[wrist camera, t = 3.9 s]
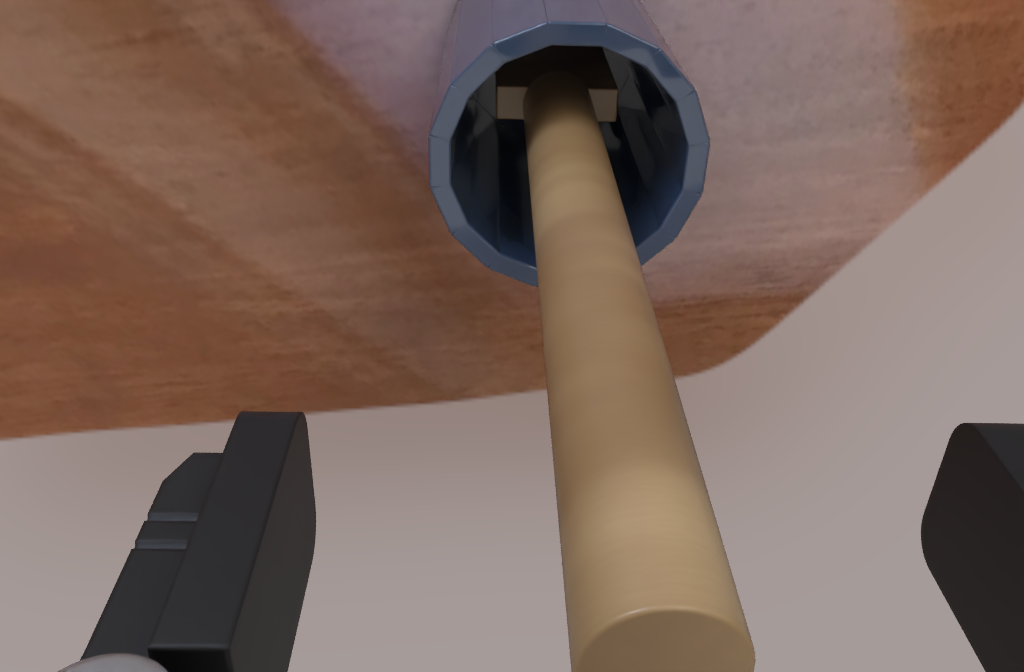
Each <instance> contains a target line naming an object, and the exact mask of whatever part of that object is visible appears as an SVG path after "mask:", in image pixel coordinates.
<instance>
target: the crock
mask: <svg viewBox="0 0 1024 672" xmlns="http://www.w3.org/2000/svg"><path fill="white" fill-rule="evenodd" d="M551 45H552V46H588V47H602V48H603V51H604V53H605V56H606V59H607V61H608V64H609V66H610V69H611V71H612V74H613V77H614V79H615V82H616V84H617V87H618V90H619V94H618V105H617V116H616V121H615V122H598V123H599V126H600V129H601V133H602V136H603V139H604V143H605V146H606V150H607V153H608V156H609V160H610V163H611V167H612V170H613V173H614V177H615V180H616V183H617V187H618V190H619V194H620V197H621V200H622V204H623V207H624V210H625V214H626V217H627V221H628V224H629V227H630V231H631V234H632V238H633V241H634V244H635V248H636V251H637V254H638V258H639V261H640V265H641V266H642V265H644V264H645V263H646V262H647V261H649V260H650V259H651V258H652V257H654V256H655V255H656V254H657V253H659V252H660V251H661V250H663V249H664V248H665V247H666V246H668V245H669V244H670V243H671V242H673V241H674V239H675V238H676V237H677V236H678V234H679V233H680V231H681V229H682V228H683V226H684V224H685V223H686V221H687V219H688V218H689V216H690V214H691V213H692V211H693V209H694V207H695V206H696V204H697V202H698V201H699V199H700V197H701V195H702V194H701V193H703V189H704V182H705V175H706V168H707V162H708V155H709V148H710V138H709V134H708V131H707V127H706V123H705V120H704V116H703V113H702V109H701V105H700V102H699V98H698V95H697V92H696V90H695V88H694V86H693V85H692V83H691V81H690V80H689V78H688V77H687V75H686V74H685V72H684V70H683V69H682V67H681V66H680V64H679V62H678V61H677V59H676V58H675V56H674V54H673V53H672V51H671V50H670V48H669V46H668V45H667V43H666V42H665V40H664V38H663V37H662V35H661V34H660V32H659V30H658V29H657V27H656V26H655V24H654V23H653V21H652V19H651V18H650V16H649V15H648V13H647V11H646V10H645V8H644V7H643V5H642V3H641V2H640V0H459V1H458V3H457V5H456V7H455V10H454V13H453V16H452V19H451V22H450V25H449V27H448V30H447V35H446V41H445V46H444V52H443V58H442V63H441V69H440V75H439V80H438V86H437V92H436V97H435V103H434V109H433V114H432V120H431V126H430V132H429V185H430V190H431V192H432V194H433V197H434V199H435V201H436V203H437V205H438V208H439V210H440V212H441V214H442V216H443V219H444V221H445V223H446V225H447V227H448V230H449V232H450V233H452V236H453V237H454V238H455V239H456V240H458V241H459V242H460V243H461V244H462V245H463V246H464V247H465V248H466V249H467V250H468V251H469V252H471V253H472V254H473V255H474V256H475V257H476V258H477V259H478V260H479V261H480V262H481V263H482V264H483V265H485V266H486V267H487V268H489V269H490V270H493V271H495V272H498V273H501V274H503V275H506V276H508V277H511V278H513V279H516V280H518V281H521V282H524V283H526V284H529V285H531V286H536V287H538V277H537V266H536V254H535V242H534V231H533V219H532V208H531V196H530V184H529V173H528V161H527V150H526V138H525V127H524V120H513V119H496V79H495V72H496V71H498V70H499V69H500V68H501V67H502V66H503V65H504V64H505V63H507V62H510V61H512V60H515V59H518V58H520V57H523V56H525V55H528V54H531V53H533V52H536V51H538V50H541V49H544V48H546V47H549V46H551Z"/></svg>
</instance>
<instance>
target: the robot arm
mask: <svg viewBox="0 0 1024 672" xmlns="http://www.w3.org/2000/svg"><path fill="white" fill-rule="evenodd" d="M315 535H316V510H315V498H314V489H313V479H312V468H311V459H310V449H309V439H308V429H307V422H306V418H305V415H304V413H303V412H255V411H242V412H240V413H239V415H238V416H237V418H236V421H235V423H234V426H233V428H232V431H231V433H230V436H229V438H228V441H227V444H226V446H225V449H224V452H223V453H193V454H192V455H191V456H190V457H189V458H188V459H186V460H185V461H184V462H183V463H182V464H181V465H180V466H179V467H178V468H177V469H175V470H174V471H173V472H172V473H171V474H170V475H169V476H168V477H167V478H166V479H165V480H164V481H163V482H162V484H161V486H160V489H159V491H158V493H157V495H156V497H155V499H154V502H153V504H152V506H151V508H150V510H149V512H148V520H147V521H144V523H143V525H142V528H141V530H140V532H139V534H138V537H137V539H136V541H135V548H134V549H131V552H130V554H129V556H128V558H127V561H126V563H125V565H124V567H123V569H122V571H121V573H120V576H119V578H118V580H117V582H116V584H115V587H114V589H113V591H112V593H111V595H110V597H109V600H108V602H107V604H106V606H105V608H104V611H103V613H102V615H101V617H100V619H99V621H98V624H97V626H96V628H95V630H94V632H93V634H92V637H91V639H90V641H89V643H88V645H87V648H86V650H85V652H84V654H83V656H82V657H81V659H80V661H79V662H76V663H74V664H71V665H69V666H67V667H65V668H64V669H62V670H60V671H58V672H287V671H288V667H289V662H290V658H291V653H292V649H293V644H294V640H295V636H296V631H297V626H298V622H299V618H300V613H301V609H302V604H303V600H304V596H305V590H306V587H307V582H308V578H309V573H310V569H311V564H312V559H313V554H314V546H315ZM921 541H922V549H923V553H924V557H925V560H926V563H927V565H928V567H929V570H930V571H931V573H932V575H933V577H934V578H935V580H936V582H937V584H938V586H939V588H940V590H941V591H942V593H943V595H944V597H945V599H946V600H947V602H948V604H949V606H950V608H951V610H952V611H953V613H954V615H955V617H956V619H957V620H958V622H959V624H960V626H961V628H962V630H963V631H964V633H965V635H966V637H967V639H968V640H969V642H970V644H971V646H972V648H973V650H974V651H975V653H976V655H977V657H978V659H979V660H980V662H981V664H982V666H983V668H984V670H985V671H986V672H1024V424H1004V423H963V424H960V425H959V426H957V428H955V430H954V431H953V433H952V435H951V437H950V439H949V442H948V445H947V448H946V451H945V454H944V457H943V460H942V463H941V465H940V468H939V471H938V474H937V477H936V480H935V483H934V486H933V489H932V491H931V494H930V497H929V500H928V503H927V506H926V509H925V512H924V515H923V520H922V525H921Z"/></svg>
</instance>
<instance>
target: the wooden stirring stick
mask: <svg viewBox="0 0 1024 672" xmlns="http://www.w3.org/2000/svg"><path fill="white" fill-rule="evenodd" d="M495 79H496V119H513V120H524V127H525V138H526V150H527V161H528V173H529V184H530V196H531V208H532V219H533V231H534V242H535V254H536V266H537V277H538V289H539V300H540V312H541V323H542V335H543V347H544V358H545V370H546V381H547V393H548V404H549V415H550V427H551V438H552V450H553V461H554V474H555V486H556V496H557V508H558V519H559V532H560V543H561V554H562V565H563V578H564V590H565V601H566V613H567V624H568V636H569V648H570V659H571V671H572V672H753V671H754V666H755V651H754V647H753V644H752V640H751V637H750V633H749V630H748V627H747V623H746V620H745V617H744V613H743V610H742V606H741V603H740V600H739V596H738V593H737V589H736V586H735V582H734V579H733V576H732V572H731V569H730V566H729V562H728V559H727V555H726V552H725V549H724V545H723V542H722V538H721V535H720V532H719V528H718V525H717V522H716V518H715V515H714V511H713V508H712V505H711V501H710V498H709V495H708V491H707V488H706V485H705V481H704V478H703V474H702V471H701V468H700V464H699V461H698V458H697V454H696V451H695V448H694V444H693V441H692V437H691V434H690V431H689V427H688V424H687V420H686V417H685V414H684V410H683V407H682V403H681V400H680V397H679V393H678V390H677V386H676V383H675V380H674V376H673V373H672V369H671V366H670V363H669V359H668V356H667V353H666V349H665V346H664V342H663V339H662V336H661V332H660V329H659V325H658V322H657V319H656V315H655V312H654V309H653V305H652V302H651V298H650V295H649V292H648V288H647V285H646V282H645V278H644V275H643V271H642V268H641V265H640V261H639V258H638V254H637V251H636V248H635V244H634V241H633V238H632V234H631V231H630V227H629V224H628V221H627V217H626V214H625V210H624V207H623V204H622V200H621V197H620V194H619V190H618V187H617V183H616V180H615V177H614V173H613V170H612V167H611V163H610V160H609V156H608V153H607V150H606V146H605V143H604V139H603V136H602V133H601V129H600V126H599V123H598V122H615V121H616V116H617V105H618V94H619V90H618V87H617V84H616V82H615V79H614V77H613V74H612V71H611V69H610V66H609V64H608V61H607V59H606V56H605V53H604V51H603V48H602V47H588V46H552V45H551V46H549V47H546V48H544V49H541V50H538V51H536V52H533V53H531V54H528V55H525V56H523V57H520V58H518V59H515V60H512V61H510V62H507V63H505V64H504V65H503V66H502V67H501V68H500V69H499V70H498V71H496V72H495Z"/></svg>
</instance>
